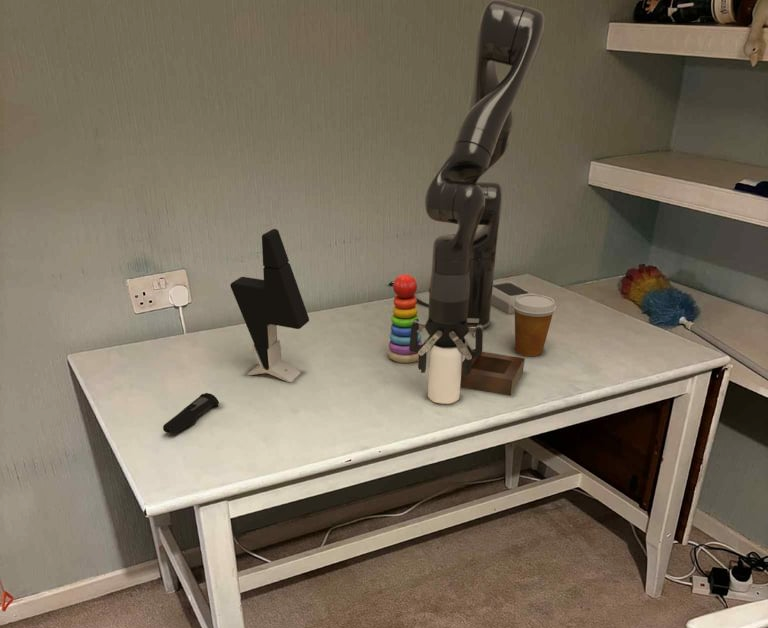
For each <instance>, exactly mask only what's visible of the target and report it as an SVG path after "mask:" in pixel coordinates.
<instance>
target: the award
mask: <svg viewBox="0 0 768 628" xmlns="http://www.w3.org/2000/svg"><path fill="white" fill-rule="evenodd" d="M261 248H262V249H261V250H262V251H261V252H262V266H263V269H262V271H263V272H262V273H263V279H260V278H254V277H248V276H241V277H239V278H237V279H236V280H234V281H231V283H230V289H231V291H232V294H233V296H234V299H235V301H236V303H237V306H238V308H239V311H240V313H241V316H242V318H243V320H244V323H245V325H246V327H247V330H248V333H249V335H250V338H251V340H252V342H253V345H251V346H252V350H253V352H254V354H255V357H256V359H257V362H258V365H257V366H255V367H254V368H253V369H252V370H250V371H249V372H248V373H247V374H246V376H254V375H255V376H256V375H260V374H268V375H271V376H273V377H276V378H278V379H280V380H282V381H284V382H287V383H292V382H293V381H294V380H296V378H298V376H299V375H300V374H301V373H302V371H299V370H298V369H297V368H295V367H294V366H292V365H291V364H289V363H288V362H286V361H284V360H283V359H282V352H281V351H282V350H281V340H280V339H278V331H277V327H282V328H283V327H284V328H289V329H295V330H300V329H302V328H303V327H304V326H305V325H306V324H308V323H309V322H310V317H309V314H308V311H307V307H306V306H305V302H304V300H303V298H302V294H301V290H300V289H299V286H298V282H297V280H296V277H295V274H294V272H293V269H292V266H291V264H290V263H289V261H290V260H289V256H288V253H287V251H286V248H285V246H284V242H283V240H282V237H281V234H280V231H279V229H277V228H272V229H270V230H268V231H267V232H265V233H263V234H262V235H261Z"/></svg>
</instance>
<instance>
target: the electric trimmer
mask: <svg viewBox="0 0 768 628" xmlns="http://www.w3.org/2000/svg"><path fill="white" fill-rule="evenodd" d="M219 404H220V401H219V399H218V398H217V397H216V396H215V395H214V394H212V393H209V392H205V393H202V394H200V395H199V396H198V397H197V398H196V399H195V400H192V401H191V403H189V404H188V405H187V406H185V407H184V408H183V409H182V410H181V411H180V412H179V413H177V414H176V415H175V416H174V417H172V418H171V419H170V420H168V421H167V422H165V423H164V424H163V425H162V430H163V432H165V433H169V434H177V433H178V432H180V431H182V430H184V429H186V428H187V427H190V426H192V425H193V424H194V423H195V424H196V421H197V418H198V417H201V416H202V415H203V414H204V413H206V412H208V410H210V409H212V408H213V407H214V408H217V407H219Z"/></svg>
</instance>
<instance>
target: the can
mask: <svg viewBox="0 0 768 628" xmlns="http://www.w3.org/2000/svg"><path fill="white" fill-rule="evenodd" d="M463 356H464V354H463V353H462V352H461V351H460V350H459V348H458V347H457V345H456V346H454V347H450V346H446V345H444V346H438V345H437V344H436V343H434V344H433V345H432V346H431V348H430V350H429V364H428V365H429V366H428V384H427V385H428V386H427V398H428V399H429V400H430V401H431V403H432V402H433V403H434V404H438V405H451V404H455V403H457V402H458V400H459V399H460V397H461V387H460V384H461V371H462V362H463Z"/></svg>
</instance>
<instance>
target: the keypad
mask: <svg viewBox="0 0 768 628" xmlns="http://www.w3.org/2000/svg"><path fill="white" fill-rule="evenodd" d="M526 294H534V292H531V291H529V290H527V289H526V288H523V287H522V286H520V285H518V284H516V283H515V282H512V281H510V280H507V281H500V282H493V289H492V299H491V305H493V306H494V307H495V308H498V310H499V309H500V311H503V312H504V313H506V314H508V315H509V314H510V315H511V314H515V310H514V307H513V303H514V302H515V300H516V298H517V297H518V296H521V295H526Z"/></svg>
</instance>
